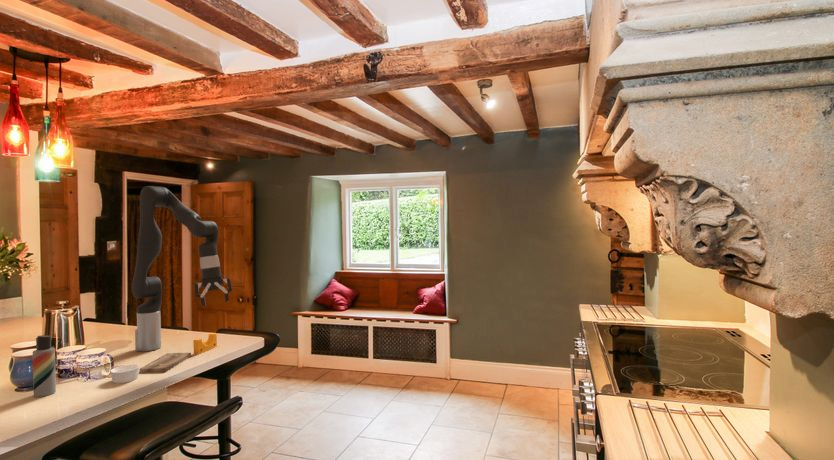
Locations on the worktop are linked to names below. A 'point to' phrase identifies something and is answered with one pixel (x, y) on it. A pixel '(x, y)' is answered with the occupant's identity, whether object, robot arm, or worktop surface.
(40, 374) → the lotion bottle
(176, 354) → the bolt plate
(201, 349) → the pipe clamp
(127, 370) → the ramekin
